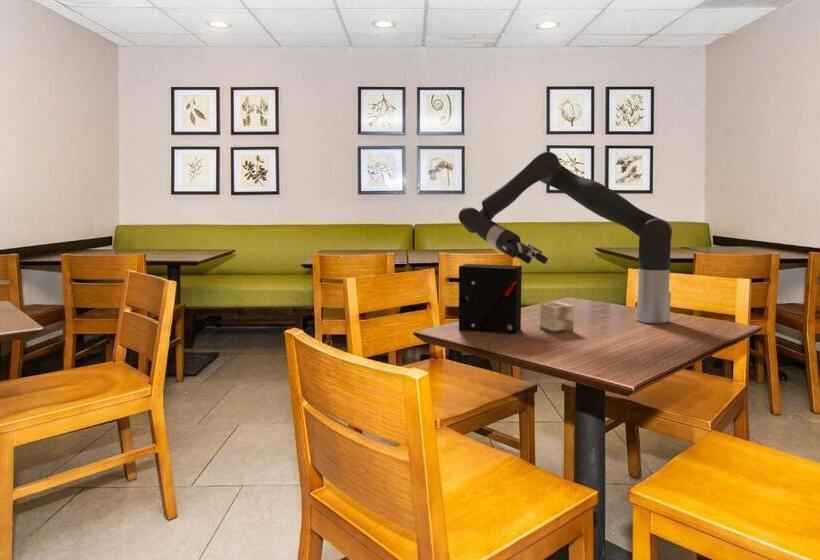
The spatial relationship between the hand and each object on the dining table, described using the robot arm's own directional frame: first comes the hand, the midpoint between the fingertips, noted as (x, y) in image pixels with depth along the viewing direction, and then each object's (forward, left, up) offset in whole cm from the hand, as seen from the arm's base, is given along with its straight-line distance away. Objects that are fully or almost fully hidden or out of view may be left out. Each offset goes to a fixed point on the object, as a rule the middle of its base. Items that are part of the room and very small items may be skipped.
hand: (538, 261), depth 176 cm
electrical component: (+18, +1, -21) cm, 27 cm away
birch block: (0, +10, -21) cm, 23 cm away
